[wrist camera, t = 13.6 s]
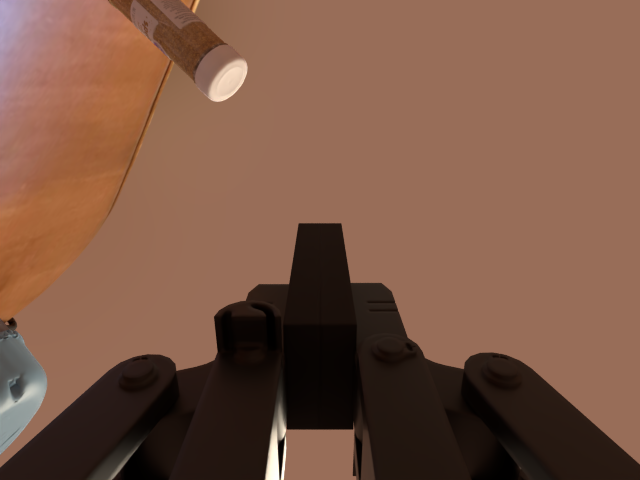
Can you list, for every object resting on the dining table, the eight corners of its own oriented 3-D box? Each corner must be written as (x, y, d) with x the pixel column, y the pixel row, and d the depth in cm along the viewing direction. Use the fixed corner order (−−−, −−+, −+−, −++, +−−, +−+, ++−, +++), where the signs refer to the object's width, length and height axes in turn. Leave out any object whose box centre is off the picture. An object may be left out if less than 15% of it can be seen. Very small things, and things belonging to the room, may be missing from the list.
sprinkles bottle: (93, -4, 35) (200, 99, 34) (118, -54, 33) (232, 52, 32) (132, 14, 39) (228, 107, 38) (156, -29, 38) (257, 66, 36)
